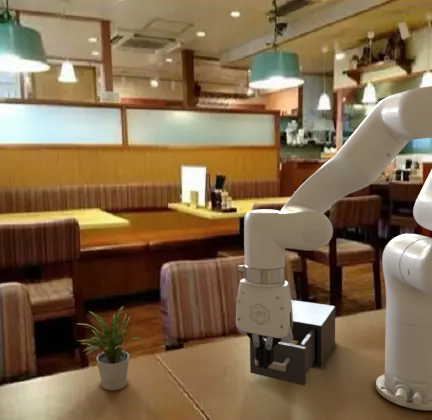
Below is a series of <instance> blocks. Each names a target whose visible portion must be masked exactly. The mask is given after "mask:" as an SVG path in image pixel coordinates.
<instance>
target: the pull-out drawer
mask: <svg viewBox="0 0 432 420" xmlns="http://www.w3.org/2000/svg"><path fill="white" fill-rule="evenodd" d="M292 334H293V340H294V341H298V345H294V344H289V343H284V342H279V343H278V344H277V345H275V346H274V360H273V363H272V364H270V366H269V367H268V368H267V369H264V368H263V367H262V368H259V367H258V361H256V347H255V346H254V344H253V342H252V340H251V339H250V338H249V368H250V369H249V370H250V374H252V375H253V374H254V375H258V376H261V377H266V378H270V379H274V380H278V381H282V382H287V383H290V384H295V385H299V386H303V387H305V386H306V385H307V374H308V372H309V371H310V369H311V368H312V367H313V366H312V365H313V363H314V361H315V360H316V358H317V329H314V328H308V327H303V326H297V325H293V327H292ZM266 338H267V336H264V341H265V343H266Z"/></svg>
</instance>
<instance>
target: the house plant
mask: <svg viewBox="0 0 432 420" xmlns="http://www.w3.org/2000/svg"><path fill="white" fill-rule="evenodd" d="M123 309H124V305H122V306H121V307H120V308H119V309H118V311H117V312H114V313H113V315H112V318H111V321H110V328H109V327H108V325H107V323H106V321H105V319H104V317H102V316H99V315H98V314H96V313H95V312H93V311H90V310H88V312H89V313H90V314H92V315H93V316H94V317H95V319H96V321H97V323H98V325H99V328H100V329H101V330H102V332H103V333H102V332H101V331H99V330H98V328H97V327H94V326H93V325H92V324H88V323H77V325H83V326H86V327H87V328H88V329H91V332H93V334H94V335H95V336H92V337H91V338H88V339H85V338H84V339H78V340H76V341H77V342H80V343H81V345H88V346H87V347H86V348H85V349H84V350H83V351H82V352H83V353H84V352H85V351H87V352H86V354H85V356H87V355H89V354H91V353H93V352H95V351H98V352H99V354H98V355H96V363H97V368H98V372H99V376H100V382H101V386H102V388H103V389H105V390H107V391H118V390H121V389H123V388H125V387H126V386H127V381H128V371H129V363H130V362H129V361H130V353H129V352H127V351H126V350H123V349H124V347H125V346H126V345H127V344H128V343H129V342H130V341H132V340H135V339H141V340H142V338H141V337H139V336H136V337H135V336H134V337H132V338H130V339H128V340H127V341H126V342H125V343H124V344H123V342H124V341H125V337H126V336H127V334H129V332H130V331H131V330H132V328H133V327H134V326H135V325H136V323H135V324H133V325H132V326H130V327H129V329H128V330H127V327H128V325H129V322H130V319H131V316H128V319H127V311H125V314H124V316H123V318H122V314H123V312H124V310H123ZM121 318H122V321H121ZM126 319H127V320H126ZM120 321H121V325H120ZM119 326H120V327H119ZM92 328H93V329H92ZM126 330H127V331H126ZM125 331H126V332H125ZM122 344H123V345H122Z"/></svg>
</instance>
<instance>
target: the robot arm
mask: <svg viewBox="0 0 432 420" xmlns="http://www.w3.org/2000/svg"><path fill="white" fill-rule="evenodd" d="M423 139H432V85H430V86H423V87H417V88H412V89H409V90H405V91H402V92H398V93H397V92H396V93H394V94H391V95H389V96H387V97H385V98H383V99H382V100H380V101H379V102H378V103H377V104H376V105H375V106H374V107H373V108H372V110H371V111H370V112H369V113H368V115H366V117H365V118H364V119H363V120H362V122H361V123H360V124H359V126H358V127H357V128H356V129H355V130H354V131H353V133H352V134H351V135H350V136H349V137H348V139H347V140H346V141H345V142H344V143H343V145H342V146H341V147H340V148H339V150H337V152H336V153H335V154H334V155H333V156H332V157H331V158H330V159H329V160H327V161H326V162H325V163H323V165H321V167H319V168H318V169H317V170H316V171H315V172H314V173H313V174H311V175H310V176H309V177H308V178H307V179H306V180H305V181H304V182H303V183H302V184H301V185H300V186H299V187H298V188H297V189H296V191H294V193H293V194H292V196H290V198H289V199H288V200H287V201H286V202H285V204H284V205H283V207H282V208H281V209H280V210H277V209H265V208H264V209H263V208H262V209H252V210H249V211H247V212H246V214H244V218H243V226H244V227H243V238H244V239H243V247H244V248H243V249H244V250H243V251H244V252H243V253H244V255H243V256H244V264H242V265H238V267H237V273H241V274H242V275H243V278H241V279H240V280H239V285H238V291H237V299H236V309H235V310H236V311H235V325H236V328H237V332H238V333H240V334H242V335H245V336H247V337H248V339H249V340H250V339H251V340H252V342H253V344H254V346H255V347H256V361H258V367H259V368H262V367H263V368H264V369H267V368H268V367H269V366H270V364H272V363H273V360H274V346H275V345H277V344H278V343H279V342H291V341H292V340H293V334H292V327H293V311H292V301H291V300H292V295H291V289H290V285H289V282H288V281H287V280H286V249H289V250H290V249H291V250H301V251H317V250H319V249H322V248H323V247H326V246H327V245H328V244H329V243H330V241H331V239H332V238H333V234H334V228H333V224H332V221H331V220H330V219H329V218H328V216H326V215H325V213H326V212H327V211H328V210H329V209H330V208H331V207H332V206H333V205H335V203H337V202H338V201H339V200H341V199H343V198H345V197H346V196H348V195H351V194H353V193H355V192H357V191H360V190H363V189H365V188H366V187H368V186H370V185H372V184H374V183H375V182H376V181H377V179H378V178H379V177H380V176H381V175H382V174H383V173H384V171H385V170H386V169H387V168H388V166H389V165H390V164H391V163H392V162H393V160H394V159H395V158H396V157H397V156H398V155H399V153H400V152H401V151H402V150H403V148H405V147H406V146H407V144H408V143H409V142H410V141H411V140H423ZM412 211H413V212H412V214H413V218H414V220H415V222H416V223H417V224H418V225H419V226H420V227H422V228H424V229H426V230H429V231H431V232H432V169H431V170H430V172H429V173H428V176H427V178H426V180H425V182H424V184H423V186H422V188H421V190H420V192H419V194H418V195H417V198H416V200H415V203H414V206H413V209H412ZM381 265H382V272H383V279H384V285H385V337H384V338H385V341H384V345H385V346H384V374H382V375H379V376H378V377H377V378H376V380H375V389H376V391H377V392H378V394H379V395H381V396H382V397H383V398H384V399H386V400H387V401H389V402H391V403H393V404H395V405H398V406H401V407H403V408H404V407H405V408H407V409H412V410H417V411H427V412H428V411H432V237H430V236H427V235H426V236H425V235H422V234H417V233H404V234H399V235H397V236H395V237H393V238H392V239H391V240H389V242H387V244H386V245H385V247H384V249H383V252H382V259H381ZM264 336H267V338H266V343H265V341H264Z"/></svg>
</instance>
